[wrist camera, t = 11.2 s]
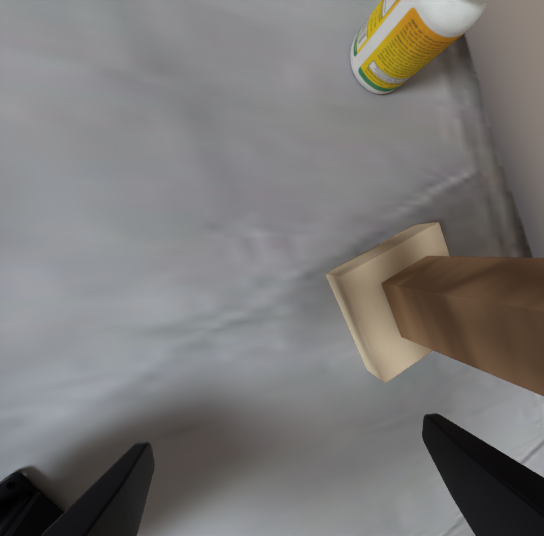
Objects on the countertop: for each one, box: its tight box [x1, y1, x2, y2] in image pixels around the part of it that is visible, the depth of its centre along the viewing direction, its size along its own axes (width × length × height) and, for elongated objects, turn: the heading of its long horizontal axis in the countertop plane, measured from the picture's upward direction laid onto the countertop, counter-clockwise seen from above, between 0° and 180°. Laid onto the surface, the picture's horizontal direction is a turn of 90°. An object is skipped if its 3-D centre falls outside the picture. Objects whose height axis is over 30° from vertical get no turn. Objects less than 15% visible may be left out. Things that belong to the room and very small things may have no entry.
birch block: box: [326, 222, 450, 383], centre depth 23 cm, size 10×10×3 cm
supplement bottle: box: [350, 0, 488, 94], centre depth 17 cm, size 5×5×10 cm
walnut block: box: [381, 256, 544, 396], centre depth 15 cm, size 5×5×12 cm
